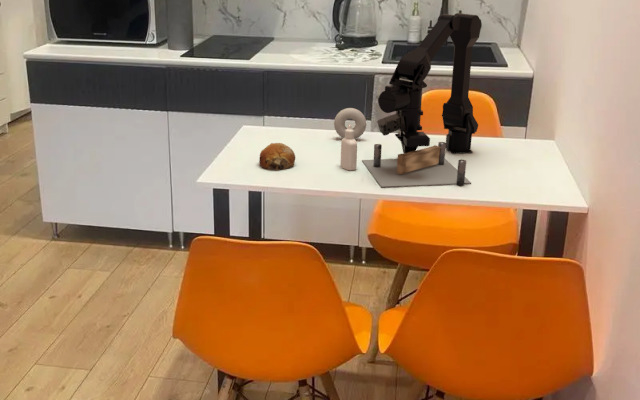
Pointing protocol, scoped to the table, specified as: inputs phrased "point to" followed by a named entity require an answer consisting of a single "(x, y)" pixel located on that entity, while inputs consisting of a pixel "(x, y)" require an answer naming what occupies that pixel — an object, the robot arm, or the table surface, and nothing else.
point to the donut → (350, 114)
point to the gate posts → (441, 162)
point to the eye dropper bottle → (349, 150)
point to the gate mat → (413, 175)
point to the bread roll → (277, 157)
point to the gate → (418, 159)
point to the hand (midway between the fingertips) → (407, 161)
